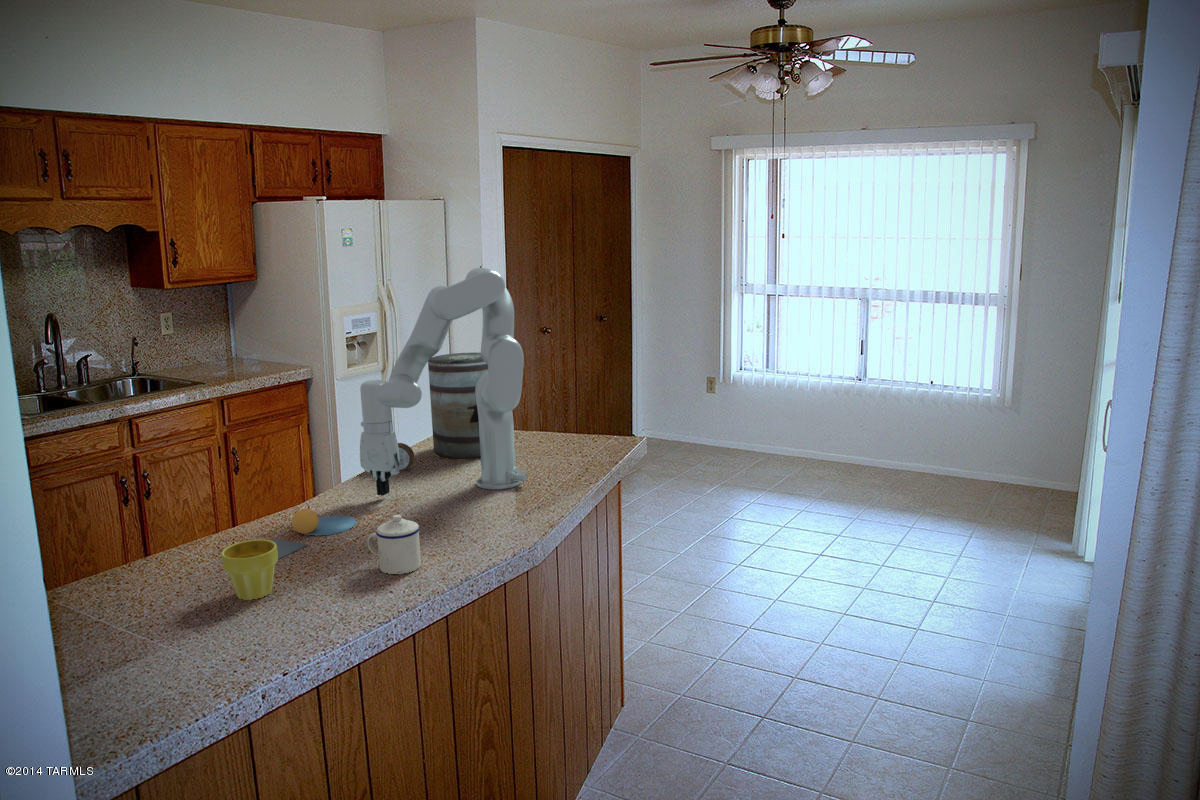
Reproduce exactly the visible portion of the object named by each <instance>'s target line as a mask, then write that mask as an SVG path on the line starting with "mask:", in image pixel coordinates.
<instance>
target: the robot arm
mask: <svg viewBox="0 0 1200 800" xmlns="http://www.w3.org/2000/svg"><path fill="white" fill-rule="evenodd" d="M479 310H481V311H482V331H481V343H480V353H481V357H482V359H483V361H484V362H485V363H486V364H487V365H488V372H487V373H485V374H483V375H482V376H481V377H480V378H479V379H478V381H477V383H476V387H475V396H476V403H477V409H478V419H479V436H480V454H481V458H480V471H481V476H480V477H478V478H477V479H476V481H475V482H476V486H477V487H479V488H482V489H484V490H505V489H513V488H515V487H517V486H519V485H520V484H522V482H526V481H527V480H528V479H527V478H528V473H527V472H523V471H522V472H521V471H520V467H519V466H516V453H515V434H514V433H515V430H514V429H515V428H514V427H515V426H514V425H515V424H514V416H513V415H514V414H513V410H514V409H515V408H516V407H518V405H519V403H520V401H521V400H520V399H521V395H522V389H523V378H524V361H525V360H524V359H525V358H524V351H523V348H522V346H521V344H520V343H519V342H518V340H516V339H515V335H514V334H515V307H514V302H513V299H512V296H511V294H510V292H509V290H508V288H507V287H506V282H505V279H504V278H503V275H501V274H500V273H499V272H498V271H497V270H494V269H489V268H485V267H475V268H473V269H471V270H470V271H469V272H468V273H466V276H465V279H464V280H461V281H459V282H456V283H455V284H452V285H437V286H435V287H433V288H432V289H431V290H430V291H429V292H428V294H427V296H426V298H425V301H424V302H423V305H422V308H421V310H420V312H419V315H418V318H417V320H416V322H415V324H414V327H413V329H412V331H411V334H410V336H409V338H408V340H407V341H406V343H405V345H404V347H403V348H402V351H401V352H400V354H399V356H398V358H397V360H396V362H395V364H394V367H393V369H392V371H391V373H390V376H389V379H388V381H387V380H384V379H375V380H366V381H364V382H363V383H361V384H360V390H359V391H360V401H361V414H362V421H361V422H360V426H361V427H363V431H362V432H361V435H360V438H359V439H360V441H359V462H360V467H361V468H362V469H363V470H364V472H366V473H369V474H371V476H372V478H373V480H374V481H375V487H376V494H377V495H378V496H383V497H384V496H386V495H387V494H390V479H391V477H392V476H396V475H398V474H400V471H399V469H398V467H399V466H400V455H399V448H398V443H399V442H398V439H397V435H396V432H395V431H394V423H393V412H392V408H395V409H396V408H398V409H399V408H400V409H401V408H402V409H409V408H413V407H416V406H417V405H418V404H419V403H420V401H421V399H422V389H421V387H420V386H419V385H420V384H418V382H419V379H420V376H421V375H422V372H423V370H424V369H425V367H426V365H427V364H428V361H429V359H430V358H431V357H435V356H436V355H437V354H438V352H440V350H441V349H442V346H443V344H444V342H445V340H446V337H447V334H448V332H449V329H450V328H451V325H452V323H453V321H455V320H458V319H460V318H462V317H465V316H468V315H470V314H471V313H472V314H473V313H474V312H477V311H479ZM391 469H392V470H391Z"/></svg>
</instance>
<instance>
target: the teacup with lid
mask: <svg viewBox="0 0 1200 800" xmlns="http://www.w3.org/2000/svg"><path fill="white" fill-rule="evenodd" d="M419 532H420V526H419V524H418V522H415V521H413V520H408V519H405V518H403V517H402V515H400V514H394V515H393V516H391V519H390V520H388V521H387V522H384V523H382V524H380V525H379V526H378V527H377V528H376V531H375V532H373V533H371V534H369V536H368V537H367V539H366V541H367V547H368V549H369V550H370V552H371V553H372V554H373V555H374V556H378V559H379V560H378V561H379V570H380V571H381V572H382V573H383V574H386V573H388V574H387V575H391V574H399V575H404V573H406V574H410V573H412V571H413V572H415V571H417V570H418V569H419V568H420V567H421V566H422V565H421V564H422V561H421V559H422V558H421V549H420V547H421V546H420V533H419ZM373 538H377V548H378V549H377V548H375V546H374V544H373V543H374V542H373ZM409 572H410V573H409Z"/></svg>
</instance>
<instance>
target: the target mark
mask: <svg viewBox="0 0 1200 800" xmlns="http://www.w3.org/2000/svg"><path fill="white" fill-rule="evenodd" d="M318 520H319V522H318V526H317V528H316V529H315V530H314V531H313V532H311V533H308V534H304V535H303V536H308V535H315V536H314V537H322V536H321V535H326V536H332V535H333V536H334V535H336V534H341V533H344V532H347V531H349V530H351V529H353V528H354V527H356V525H357V520H356V519H355V518H354V517H352V516H348V515H325V516H318ZM355 524H356V525H355ZM352 527H353V528H352ZM350 528H351V529H350ZM340 532H341V533H340ZM318 535H319V536H318Z"/></svg>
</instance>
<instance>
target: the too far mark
mask: <svg viewBox="0 0 1200 800" xmlns="http://www.w3.org/2000/svg"><path fill="white" fill-rule="evenodd" d="M271 541H273V542H275V543H276V545H277V552H278V559H279V560H281V559H283V558H285V557H286V556H289V555H291V554H293V553H295V552H297V551H299V550H301V549H303V547H304V548H305V546H306V547H307V545H308V546H309V544H306V543H301V542H295V541H290V540H284V539H278V538H274V539H272V540H271ZM294 551H295V552H294ZM280 558H281V559H280Z"/></svg>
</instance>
